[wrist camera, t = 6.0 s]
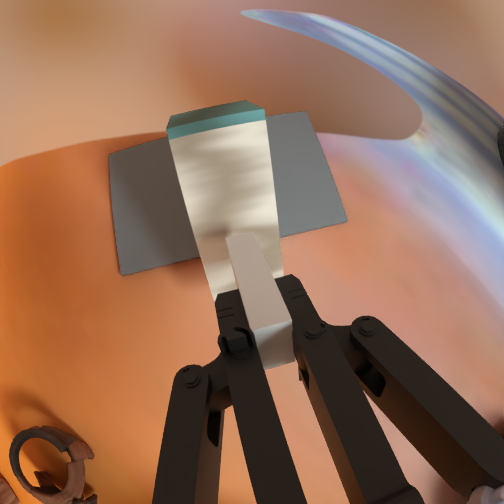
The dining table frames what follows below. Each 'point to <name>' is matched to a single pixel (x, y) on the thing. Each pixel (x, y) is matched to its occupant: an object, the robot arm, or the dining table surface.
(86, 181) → the dining table surface
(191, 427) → the robot arm
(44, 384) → the dining table surface
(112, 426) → the dining table surface
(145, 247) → the mat
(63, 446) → the vr controller
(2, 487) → the cupcake
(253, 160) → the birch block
